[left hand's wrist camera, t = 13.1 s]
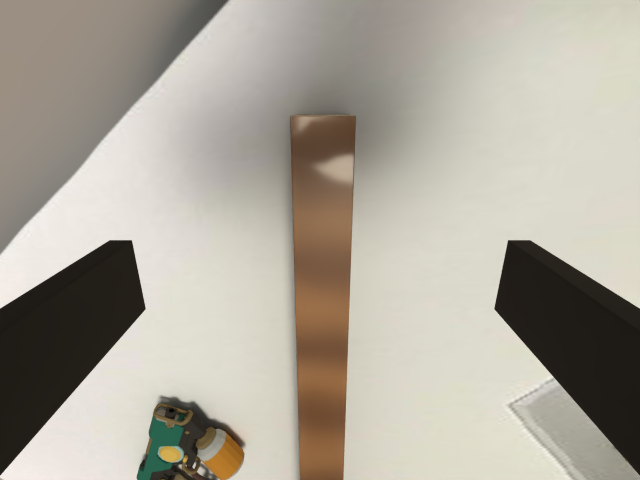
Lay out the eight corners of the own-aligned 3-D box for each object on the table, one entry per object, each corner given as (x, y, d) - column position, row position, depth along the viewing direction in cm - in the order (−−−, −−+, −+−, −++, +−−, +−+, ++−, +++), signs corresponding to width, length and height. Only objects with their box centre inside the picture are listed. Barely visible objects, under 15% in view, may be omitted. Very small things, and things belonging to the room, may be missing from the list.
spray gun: (206, 499, 53) (118, 453, 51) (266, 440, 48) (170, 385, 45) (195, 531, 49) (99, 483, 47) (259, 471, 44) (153, 413, 41)
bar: (296, 114, 33) (290, 115, 27) (348, 114, 33) (355, 115, 27) (306, 598, 62) (305, 659, 55) (335, 598, 62) (337, 659, 55)
